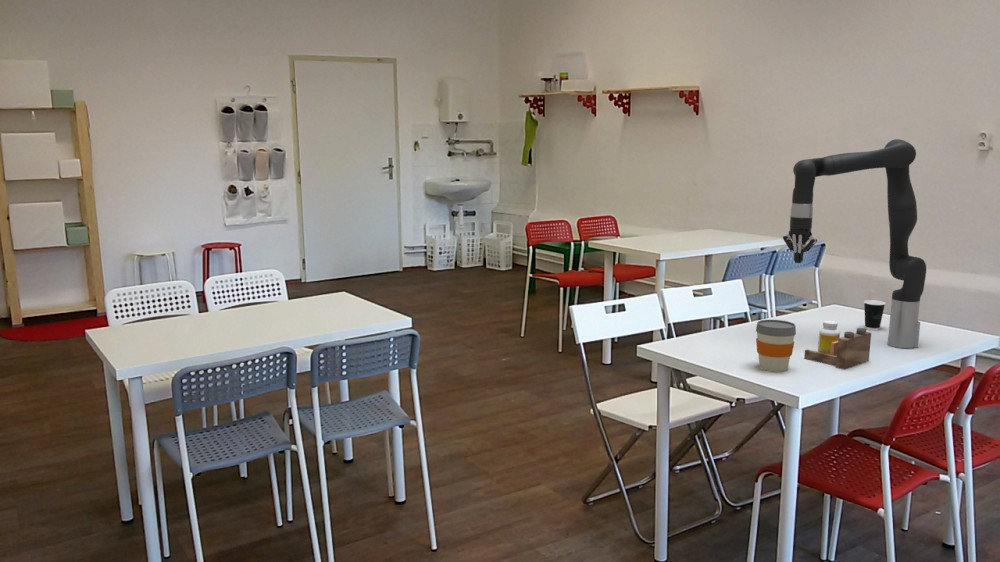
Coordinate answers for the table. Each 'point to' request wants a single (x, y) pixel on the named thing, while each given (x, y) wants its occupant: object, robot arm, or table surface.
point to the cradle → (846, 350)
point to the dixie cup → (873, 314)
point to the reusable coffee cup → (775, 344)
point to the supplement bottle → (828, 336)
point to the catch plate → (834, 348)
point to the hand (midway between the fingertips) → (798, 262)
